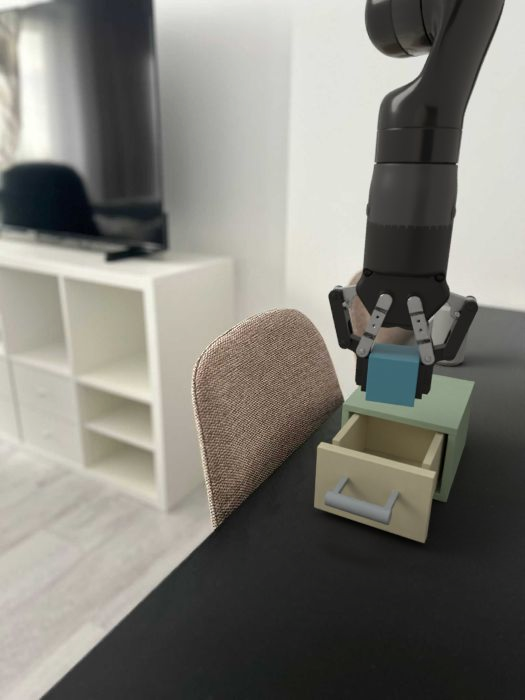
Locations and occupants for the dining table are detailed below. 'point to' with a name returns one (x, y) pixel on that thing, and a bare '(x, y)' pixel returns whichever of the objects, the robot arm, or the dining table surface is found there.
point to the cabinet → (428, 419)
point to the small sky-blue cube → (392, 374)
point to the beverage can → (441, 330)
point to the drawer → (381, 474)
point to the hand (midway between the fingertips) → (391, 391)
